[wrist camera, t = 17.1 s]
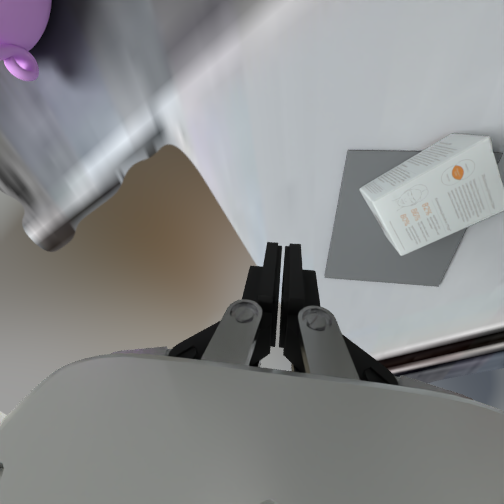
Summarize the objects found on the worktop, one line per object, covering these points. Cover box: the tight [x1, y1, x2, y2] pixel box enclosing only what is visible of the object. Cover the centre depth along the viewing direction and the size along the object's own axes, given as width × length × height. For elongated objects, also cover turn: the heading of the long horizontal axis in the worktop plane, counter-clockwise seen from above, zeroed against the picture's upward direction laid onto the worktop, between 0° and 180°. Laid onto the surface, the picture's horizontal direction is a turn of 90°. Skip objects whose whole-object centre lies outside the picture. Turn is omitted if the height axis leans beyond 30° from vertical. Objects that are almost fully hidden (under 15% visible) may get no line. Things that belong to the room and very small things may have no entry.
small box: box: [359, 133, 504, 256], centre depth 26 cm, size 8×6×10 cm
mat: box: [325, 150, 503, 287], centre depth 31 cm, size 18×16×1 cm
